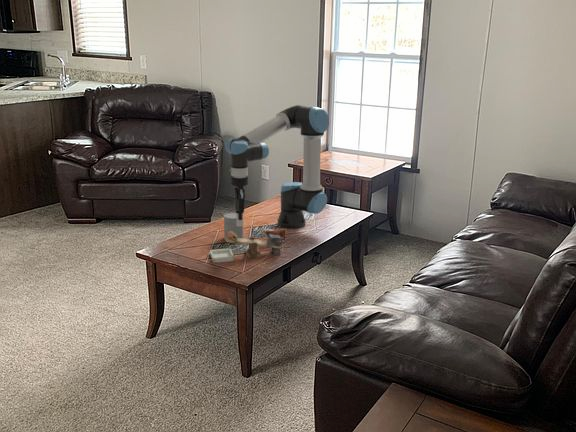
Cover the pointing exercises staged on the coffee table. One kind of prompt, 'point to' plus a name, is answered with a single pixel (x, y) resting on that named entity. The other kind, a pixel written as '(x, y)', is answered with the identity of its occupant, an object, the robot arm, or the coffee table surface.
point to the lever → (272, 241)
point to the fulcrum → (253, 250)
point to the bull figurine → (275, 233)
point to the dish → (222, 255)
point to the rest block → (276, 251)
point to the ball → (230, 234)
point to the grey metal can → (232, 225)
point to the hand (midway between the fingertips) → (239, 225)
